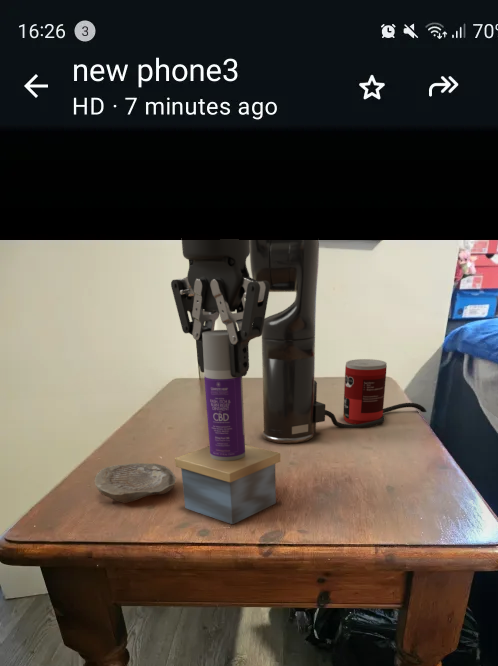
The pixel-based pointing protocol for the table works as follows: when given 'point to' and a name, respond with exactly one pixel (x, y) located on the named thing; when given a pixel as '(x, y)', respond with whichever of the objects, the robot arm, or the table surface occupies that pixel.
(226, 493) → the board box
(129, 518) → the table surface
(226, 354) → the container
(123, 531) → the table surface
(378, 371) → the canned food
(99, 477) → the fossil
